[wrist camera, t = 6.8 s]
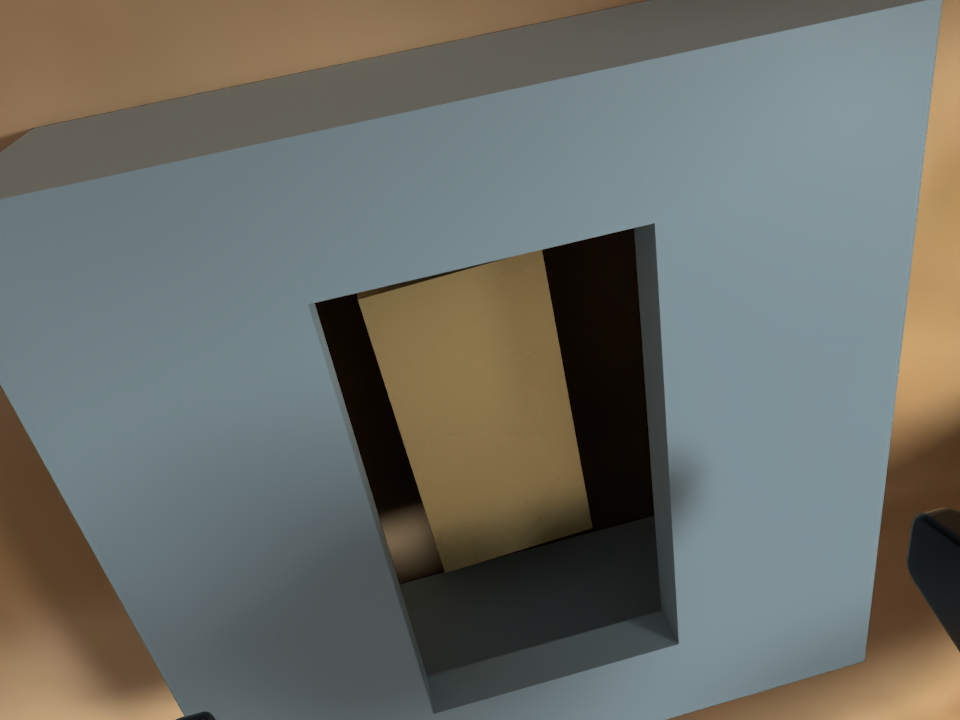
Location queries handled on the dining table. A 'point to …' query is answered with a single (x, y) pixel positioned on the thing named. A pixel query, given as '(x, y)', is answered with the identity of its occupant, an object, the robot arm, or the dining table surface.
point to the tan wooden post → (481, 406)
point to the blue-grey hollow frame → (455, 245)
